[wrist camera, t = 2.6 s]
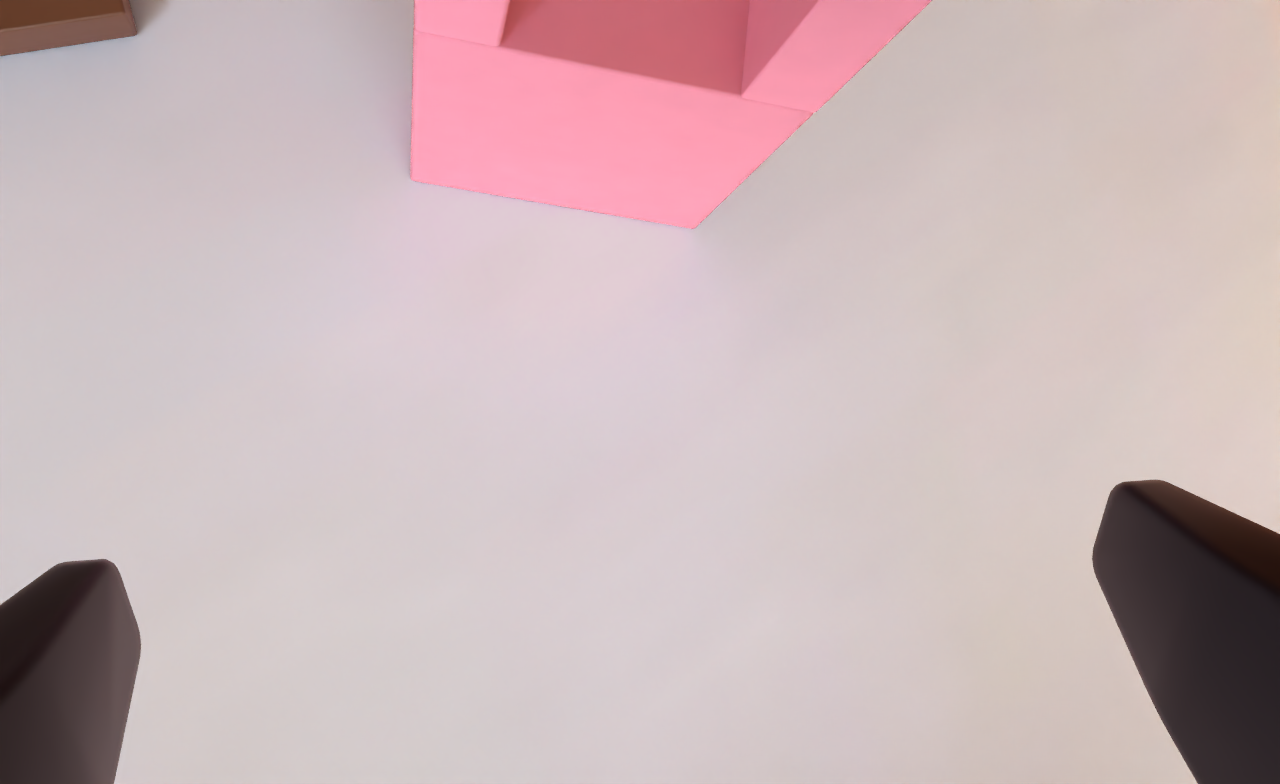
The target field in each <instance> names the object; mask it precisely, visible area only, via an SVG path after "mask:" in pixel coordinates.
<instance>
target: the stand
mask: <svg viewBox="0 0 1280 784" xmlns="http://www.w3.org/2000/svg"><path fill="white" fill-rule="evenodd" d="M135 35H137V30H136V26H135V22H134V18H133V14H132V10H131V6H130V3H129V0H0V56H4V55H10V54H17V53H24V52H30V51H37V50H43V49H50V48H56V47H63V46H70V45H76V44H83V43H89V42H96V41H103V40H109V39H116V38H122V37H129V36H135Z"/></svg>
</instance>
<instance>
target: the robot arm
mask: <svg viewBox="0 0 1280 784" xmlns="http://www.w3.org/2000/svg"><path fill="white" fill-rule="evenodd" d="M1092 560H1093V567H1094V572H1095V575H1096V578H1097V580H1098V582H1099V585H1100V587H1101V589H1102V591H1103V593H1104V596H1105V598H1106V600H1107V602H1108V605H1109V607H1110V609H1111V611H1112V613H1113V616H1114V618H1115V620H1116V622H1117V625H1118V627H1119V629H1120V631H1121V634H1122V636H1123V638H1124V640H1125V642H1126V645H1127V647H1128V649H1129V651H1130V654H1131V656H1132V658H1133V660H1134V662H1135V665H1136V667H1137V669H1138V671H1139V674H1140V676H1141V678H1142V680H1143V683H1144V685H1145V687H1146V689H1147V691H1148V694H1149V696H1150V698H1151V700H1152V702H1153V704H1154V706H1155V708H1156V710H1157V712H1158V714H1159V716H1160V718H1161V720H1162V721H1163V723H1164V725H1165V727H1166V729H1167V731H1168V732H1169V734H1170V736H1171V738H1172V740H1173V741H1174V743H1175V745H1176V747H1177V748H1178V750H1179V752H1180V753H1181V755H1182V757H1183V759H1184V760H1185V762H1186V764H1187V766H1188V767H1189V769H1190V771H1191V772H1192V774H1193V776H1194V778H1195V779H1196V781H1197V783H1198V784H1280V534H1278V533H1276V532H1274V531H1272V530H1269V529H1267V528H1265V527H1263V526H1261V525H1259V524H1257V523H1254V522H1252V521H1250V520H1248V519H1246V518H1244V517H1241V516H1239V515H1237V514H1235V513H1233V512H1231V511H1228V510H1226V509H1224V508H1222V507H1220V506H1218V505H1215V504H1213V503H1211V502H1209V501H1207V500H1205V499H1202V498H1200V497H1198V496H1196V495H1194V494H1192V493H1189V492H1187V491H1185V490H1183V489H1181V488H1179V487H1177V486H1174V485H1172V484H1170V483H1168V482H1165V481H1162V480H1142V481H1129V482H1122V483H1120V484H1118V485H1116V486H1115V487H1114V488H1113V490H1112V491H1111V492H1110V495H1109V497H1108V501H1107V504H1106V508H1105V511H1104V514H1103V518H1102V521H1101V524H1100V528H1099V531H1098V534H1097V538H1096V541H1095V544H1094V548H1093V558H1092ZM140 650H141V640H140V632H139V628H138V625H137V622H136V619H135V616H134V613H133V610H132V607H131V605H130V602H129V599H128V596H127V593H126V590H125V587H124V584H123V581H122V578H121V575H120V573H119V571H118V569H117V567H116V566H115V565H114V563H112V562H110V561H108V560H106V559H98V560H84V561H71V562H63V563H60V564H57V565H55V566H54V567H52V568H51V569H49V570H48V571H46V572H45V573H44V574H42V575H41V576H40V577H38V578H37V579H35V580H34V581H33V582H31V583H30V584H29V585H27V586H26V587H24V588H23V589H22V590H20V591H19V592H18V593H16V594H15V595H14V596H12V597H11V598H9V599H8V600H7V601H5V602H4V603H3V604H1V605H0V784H114V780H115V776H116V771H117V766H118V761H119V756H120V751H121V747H122V742H123V737H124V732H125V727H126V722H127V718H128V713H129V708H130V703H131V698H132V693H133V688H134V684H135V679H136V674H137V669H138V664H139V659H140Z"/></svg>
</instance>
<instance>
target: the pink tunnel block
mask: <svg viewBox="0 0 1280 784" xmlns="http://www.w3.org/2000/svg"><path fill="white" fill-rule="evenodd" d="M931 1H932V0H414V31H413V77H412V123H411V169H410V177H411V180H413V181H417V182H423V183H429V184H435V185H441V186H447V187H452V188H458V189H464V190H470V191H476V192H481V193H487V194H493V195H499V196H505V197H511V198H516V199H522V200H528V201H534V202H540V203H546V204H551V205H557V206H563V207H569V208H575V209H581V210H586V211H592V212H598V213H604V214H610V215H615V216H621V217H627V218H633V219H639V220H645V221H650V222H656V223H662V224H668V225H674V226H680V227H685V228H691V229H693V228H696V227H697V226H698V225H699V224H700V223H701V222H702V221H703V220H704V219H705V218H706V217H707V216H708V215H709V214H710V213H711V212H712V211H713V210H714V209H715V208H716V207H717V206H718V205H719V204H720V203H722V202H723V201H724V200H725V199H726V198H727V197H728V196H729V195H730V194H731V193H732V192H733V191H734V190H735V189H736V188H737V187H738V186H739V185H740V184H741V183H742V182H743V181H744V180H745V179H746V178H747V177H748V176H749V175H751V174H752V173H753V172H754V171H755V170H756V169H757V168H758V167H759V166H760V165H761V164H762V163H763V162H764V161H765V160H766V159H767V158H768V157H769V156H770V155H771V154H772V153H773V152H774V151H775V150H776V149H777V148H778V147H779V146H781V145H782V144H783V143H784V142H785V141H786V140H787V139H788V138H789V137H790V136H791V135H792V134H793V133H794V132H795V131H796V130H797V129H798V128H799V127H800V126H801V125H802V124H803V123H804V122H805V121H806V120H807V119H808V118H810V117H811V116H812V115H813V113H814V112H817V111H818V110H819V109H820V108H821V107H822V106H823V105H824V104H825V103H826V102H827V101H828V100H829V99H830V98H831V97H832V96H833V95H834V94H836V93H837V92H838V91H839V90H840V89H841V88H842V87H843V86H844V85H845V84H846V83H847V82H848V81H849V80H850V79H851V78H852V77H853V76H854V75H855V74H856V73H857V72H858V71H859V70H860V69H861V68H863V67H864V66H865V65H866V64H867V63H868V62H869V61H870V60H871V59H872V58H873V57H874V56H875V55H876V54H877V53H878V52H879V51H880V50H881V49H882V48H883V47H884V46H885V45H886V44H887V43H888V42H890V41H891V40H892V39H893V38H894V37H895V36H896V35H897V34H898V33H899V32H900V31H901V30H902V29H903V28H904V27H905V26H906V25H907V24H908V23H909V22H910V21H911V20H912V19H913V18H914V17H915V16H917V15H918V14H919V13H920V12H921V11H922V10H923V9H924V8H925V7H926V6H927V5H928V4H929V3H930V2H931Z"/></svg>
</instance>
